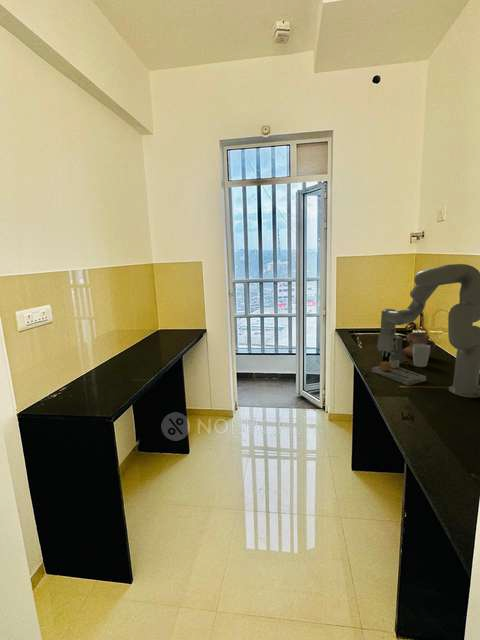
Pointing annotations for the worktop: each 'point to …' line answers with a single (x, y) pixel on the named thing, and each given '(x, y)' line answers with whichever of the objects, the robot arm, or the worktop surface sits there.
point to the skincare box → (398, 351)
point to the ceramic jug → (417, 342)
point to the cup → (421, 354)
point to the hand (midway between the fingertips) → (385, 362)
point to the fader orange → (385, 366)
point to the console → (400, 375)
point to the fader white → (394, 363)
